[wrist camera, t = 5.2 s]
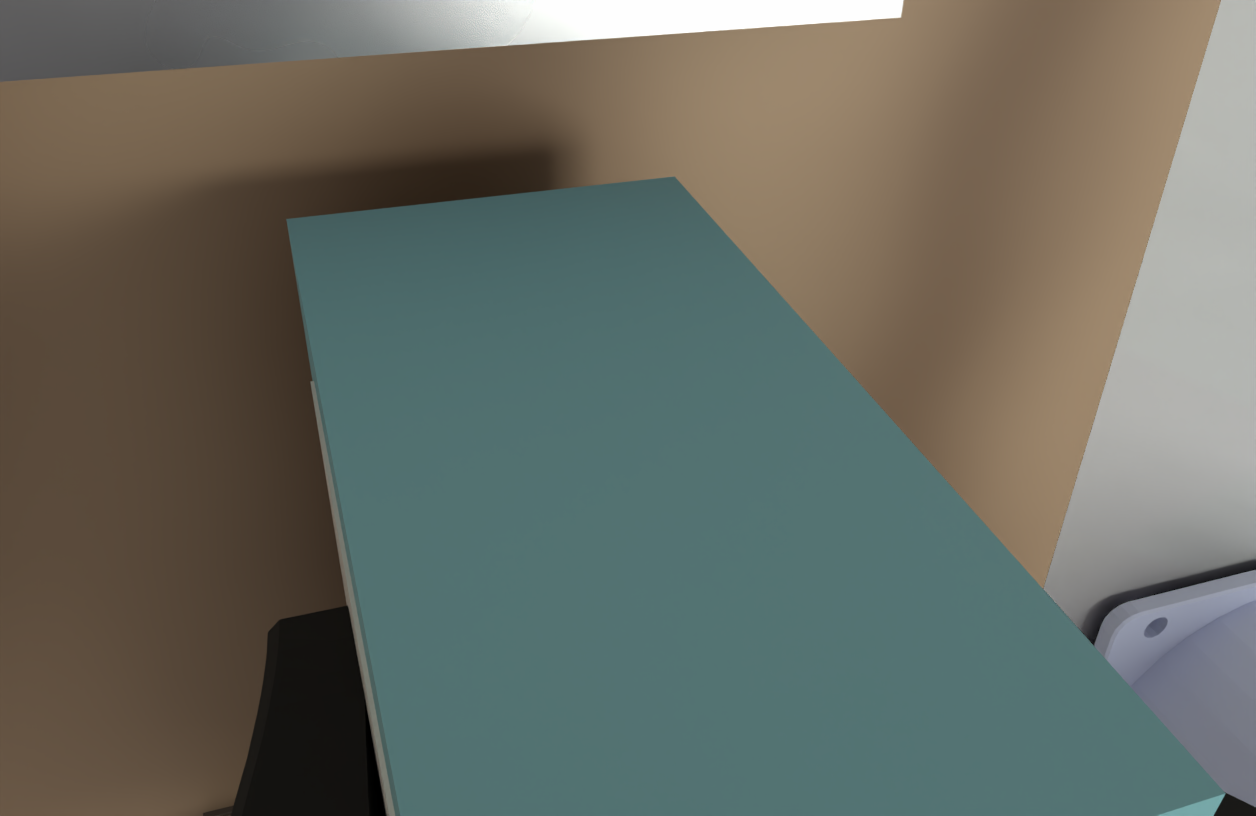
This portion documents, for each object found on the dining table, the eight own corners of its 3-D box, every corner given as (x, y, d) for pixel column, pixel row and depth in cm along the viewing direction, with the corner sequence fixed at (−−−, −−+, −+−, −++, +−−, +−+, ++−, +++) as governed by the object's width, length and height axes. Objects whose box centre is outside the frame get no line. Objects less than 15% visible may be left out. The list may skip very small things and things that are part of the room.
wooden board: (1190, -248, 13) (1392, -230, 11) (964, 632, 20) (1054, 744, 18) (-874, -253, 8) (-1269, -224, 6) (-148, 909, 16) (-200, 1106, 13)
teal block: (674, 177, 10) (1226, 794, 5) (642, 734, 15) (910, 1368, 10) (282, 219, 9) (434, 1046, 4) (377, 801, 14) (508, 1552, 9)
